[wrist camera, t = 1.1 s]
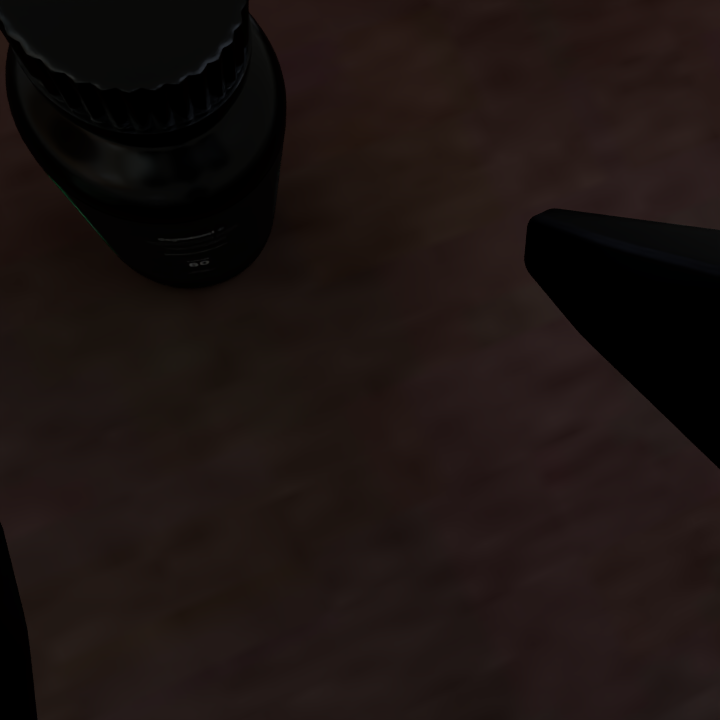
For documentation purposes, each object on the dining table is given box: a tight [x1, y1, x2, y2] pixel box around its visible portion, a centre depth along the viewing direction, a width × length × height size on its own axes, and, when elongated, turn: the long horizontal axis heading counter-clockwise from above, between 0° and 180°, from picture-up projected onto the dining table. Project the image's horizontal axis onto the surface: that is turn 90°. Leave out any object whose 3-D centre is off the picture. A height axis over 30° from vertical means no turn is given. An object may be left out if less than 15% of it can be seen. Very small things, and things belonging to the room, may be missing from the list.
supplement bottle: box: [0, 0, 286, 288], centre depth 16 cm, size 7×7×12 cm
